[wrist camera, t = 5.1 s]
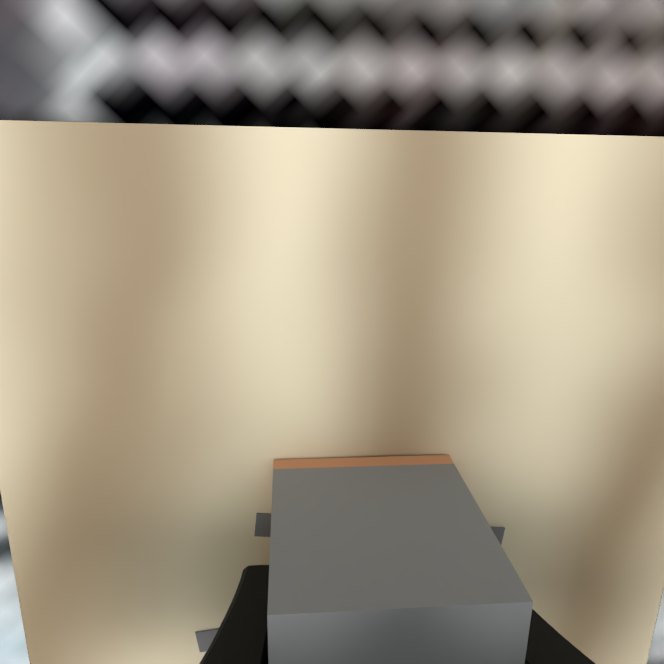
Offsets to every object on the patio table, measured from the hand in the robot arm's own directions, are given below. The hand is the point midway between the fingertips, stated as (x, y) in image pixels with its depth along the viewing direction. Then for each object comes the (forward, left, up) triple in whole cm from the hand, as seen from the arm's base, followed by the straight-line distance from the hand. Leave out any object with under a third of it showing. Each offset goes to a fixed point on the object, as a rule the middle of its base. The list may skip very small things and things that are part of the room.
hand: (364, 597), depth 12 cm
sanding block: (0, +1, -1) cm, 1 cm away
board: (0, +3, -2) cm, 4 cm away
